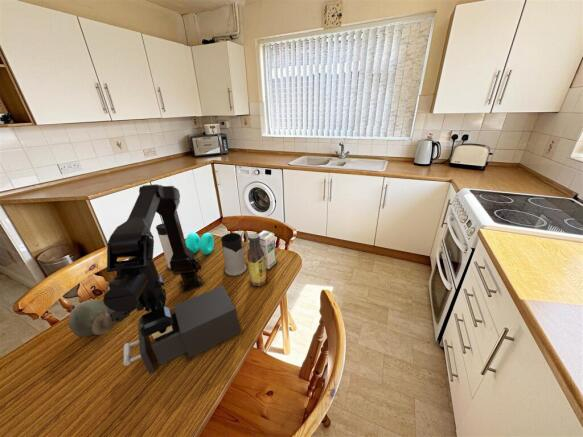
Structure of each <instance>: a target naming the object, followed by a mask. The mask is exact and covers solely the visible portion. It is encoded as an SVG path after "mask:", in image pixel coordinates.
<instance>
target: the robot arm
mask: <svg viewBox="0 0 583 437" xmlns="http://www.w3.org/2000/svg"><path fill="white" fill-rule="evenodd" d="M138 190H139V191H138V193H139V194H138V196H137V198H136V200H135V202H134V205H133V207H132V208H131V212H130V213H129V216H128V218H127V219H126V221H125V222H122V223H121V224H120V225H118V226H116V227H115V229H114V231H113V232H112V233H111V234H110V236H109V239H108V241H107V249H106V250H107V251H106V252H107V253H106V272H107V273H114V272H115V274H116V275H115V277H113V278H112V279H111V280H110V281H109V282H108V289H107V291H106V292H105V293H104V294H103V300H102V301H103V302H104V304H105V305H106V306H107V307H108V311H107V313H108V314H109V317H110V318H111V321H116V323H120V322H122V321H124V320H125V319H126V318H128V317H130V315H131V313H132V312H134V311H137V312H141V311H143V310H145V314H142V315H141V317H140V318H139V319H138V324H139V325H140V332H141V334H142V336H143V337H147V336H149V337H150V336H152V334H153V333H156V332H158V331H159V332H160V333H161V334H162V333H164V332H166V328H167V327H169V326H171V325H172V324H173V320H172V316H171V313H172V312H171V309H170V307H167V306H166V301H167V292H166V289H165V288H164V287H165V282H164V278H163V276H162V275H159V272H158V271H157V267H156V264H155V261H154V247H155V240H154V235H153V233H152V231H151V229H152V224H153V222H154V219H155V216H156V213H157V214H158V215H159V216H160V217H161V220H162V224H163V223H164V226H165V229H166V233H167V236H168V239H169V242H170V245H171V248H172V252H173V255H172V258H171V260H170V268H171V269H170V270H171V272H172V274H173V275H174V276H179V275H180V278H181V280H180V283H181V286H182V290H183V292H186V291H188V290H189V291H190V290H191V289H194V288H197V287H200V286H201V285H202V281H201V278H200V276H199V275H198V273H199V271H201V270H202V265H201V260H200V259H199V258H197V257H196V256H195V254H194V253H193V251H191V250H190V249H189V248H187V246H186V242H185V241H186V238H185V236H184V232H183V228H182V224H181V220H180V217H179V214H178V208H179V206H180V204H181V201H180V199H181V193H180V190H179V189H178V188H177V187H175V185H162V184H156V183H155V184H144V185H141V186H140V187H139V189H138ZM123 258H128V259H125V260H118V259H123Z"/></svg>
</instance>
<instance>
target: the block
mask: <svg viewBox="0 0 583 437" xmlns="http://www.w3.org/2000/svg"><path fill="white" fill-rule="evenodd" d="M171 331H173V329H172V325H171V326H169V327H167V328H166V332H164V333H162V334H161V333H160V332H159V331H158V332H156V333H153V334H151V336H152V338H153V340H155V338H157V337H160V336H162V335H164V334H166V333H169V332H171Z"/></svg>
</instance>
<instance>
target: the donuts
mask: <svg viewBox="0 0 583 437" xmlns="http://www.w3.org/2000/svg"><path fill="white" fill-rule="evenodd" d="M185 242H186V246H187V248H189V249H190V250H191V251H193V253H194V255H195V254H196V253H198V252H199V250H200V252H201V253H202V254H203V255H205V256H208V255H210V254H211V253H212V252H213V250H214V247H215V238H214V236H213V234H212V233H210V232H205V233H203V234H202V235H201V237H200V235H199V234H198V233H196V232H190V233H188V234H187V236H186V237H185Z"/></svg>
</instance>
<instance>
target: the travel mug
mask: <svg viewBox="0 0 583 437" xmlns="http://www.w3.org/2000/svg"><path fill="white" fill-rule="evenodd" d="M155 229H156V232H157V235H158V238H159V243H160V245H161V248H162V251H163V254H164V258H165V261H166V264H167V267H168V269H169V270H171V268H170V260H171V258H172V255H173V252H172V248H171V245H170V242H169V239H168V236H167V233H166V229H165V226H164V223H163V222H162V223H159V224H157V225H156V226H155Z"/></svg>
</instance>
